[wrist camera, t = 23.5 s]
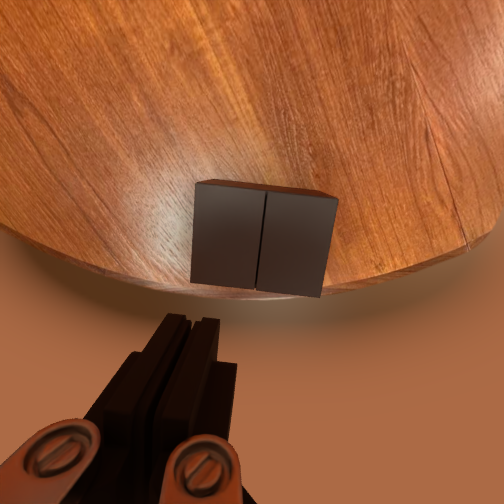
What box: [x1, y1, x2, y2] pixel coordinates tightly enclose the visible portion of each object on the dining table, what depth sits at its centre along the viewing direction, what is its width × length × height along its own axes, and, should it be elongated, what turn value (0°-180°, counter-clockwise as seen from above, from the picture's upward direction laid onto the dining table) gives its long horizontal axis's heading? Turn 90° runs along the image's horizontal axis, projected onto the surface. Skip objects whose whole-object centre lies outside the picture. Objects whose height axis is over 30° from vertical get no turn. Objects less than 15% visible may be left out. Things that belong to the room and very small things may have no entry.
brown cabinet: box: [197, 179, 338, 298], centre depth 29 cm, size 12×9×9 cm
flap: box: [190, 183, 266, 290], centre depth 25 cm, size 6×9×1 cm, turn 174°
